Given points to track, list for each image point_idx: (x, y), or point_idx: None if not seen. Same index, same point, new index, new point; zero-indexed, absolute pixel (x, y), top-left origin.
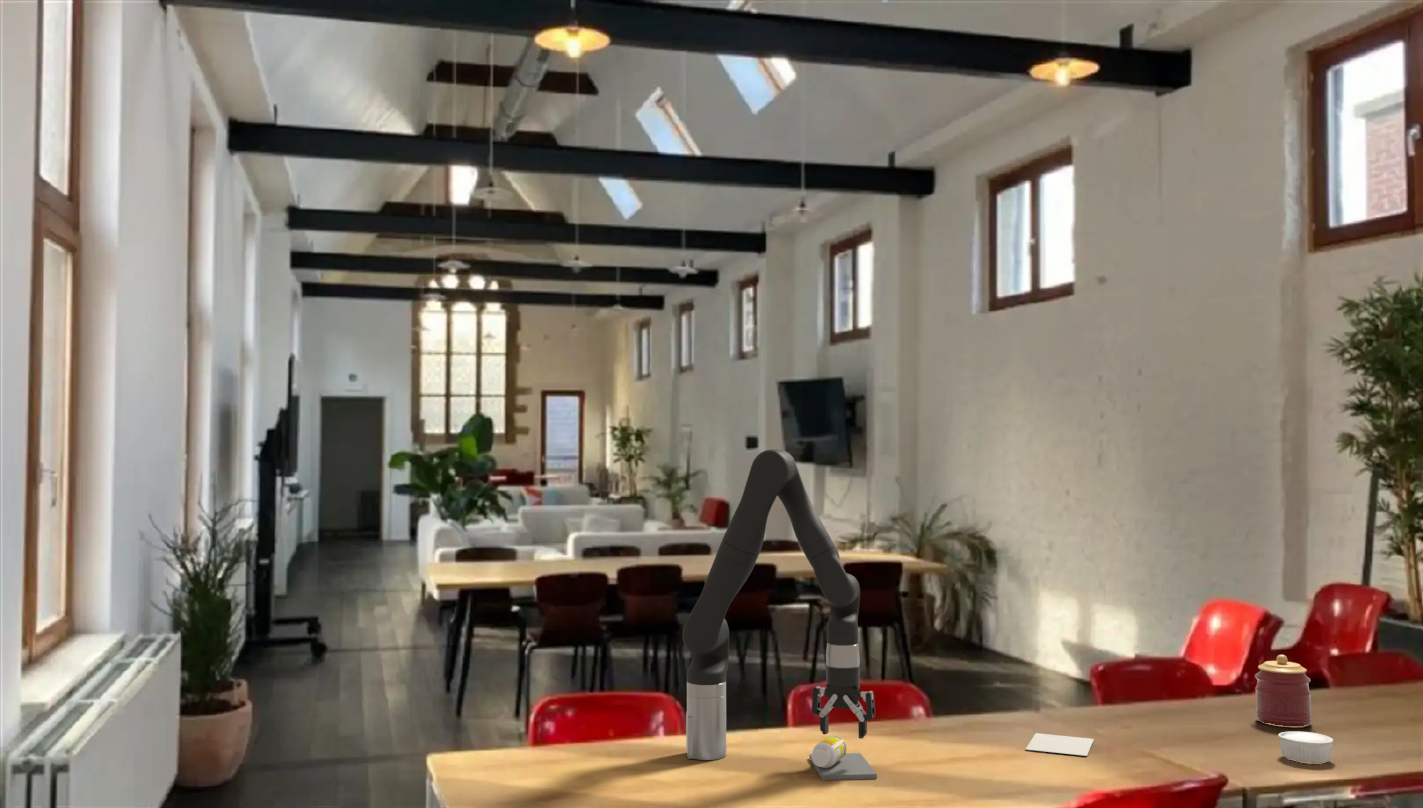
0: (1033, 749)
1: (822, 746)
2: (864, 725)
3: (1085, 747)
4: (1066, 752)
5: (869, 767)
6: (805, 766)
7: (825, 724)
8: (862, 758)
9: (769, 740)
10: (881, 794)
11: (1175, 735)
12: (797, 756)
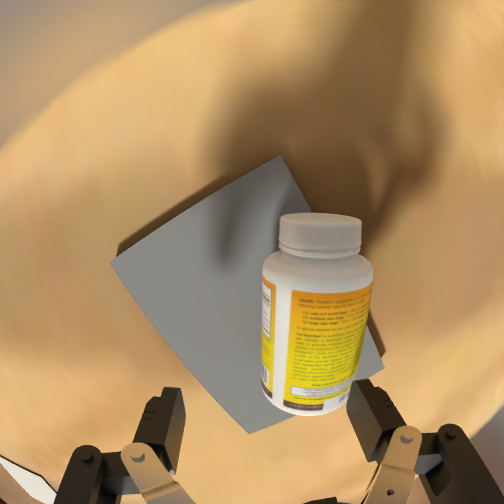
0: (35, 476)
1: (334, 268)
2: (138, 433)
3: (14, 476)
4: (9, 463)
5: (160, 324)
6: (377, 288)
7: (369, 411)
8: (222, 399)
9: (459, 414)
10: (62, 112)
11: (11, 495)
12: (409, 361)
